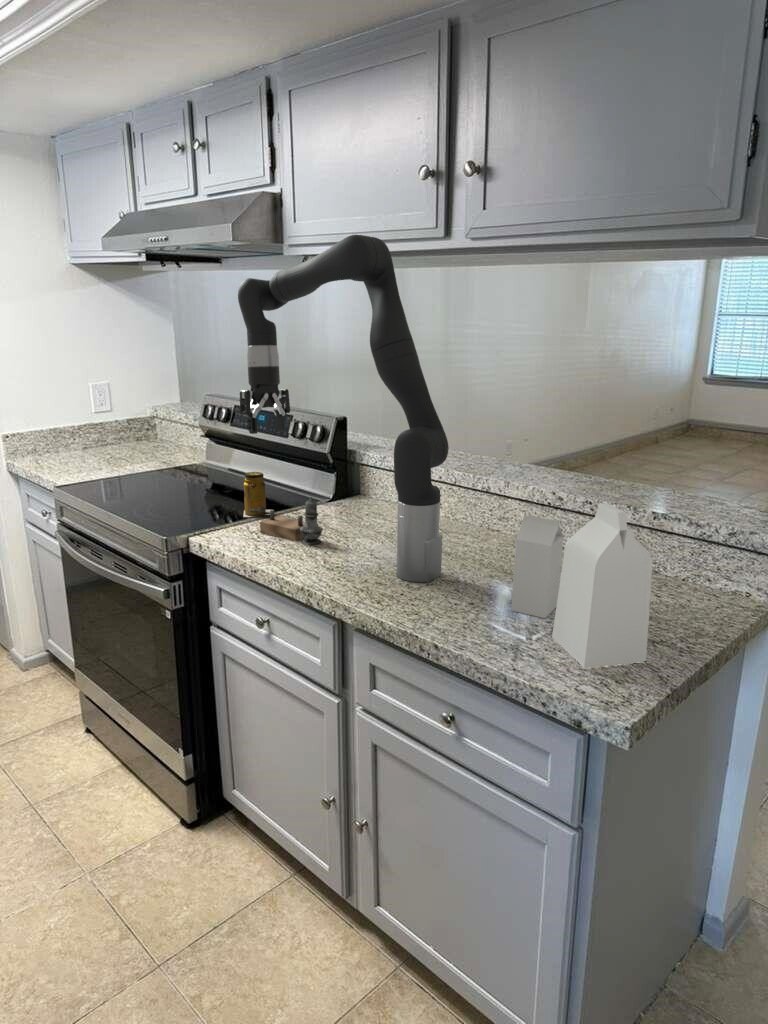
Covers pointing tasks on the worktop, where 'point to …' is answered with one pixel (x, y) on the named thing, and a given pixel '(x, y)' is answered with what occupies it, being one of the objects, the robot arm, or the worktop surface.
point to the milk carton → (537, 566)
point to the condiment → (254, 495)
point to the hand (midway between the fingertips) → (266, 432)
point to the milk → (604, 593)
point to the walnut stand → (282, 527)
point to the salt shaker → (311, 525)
